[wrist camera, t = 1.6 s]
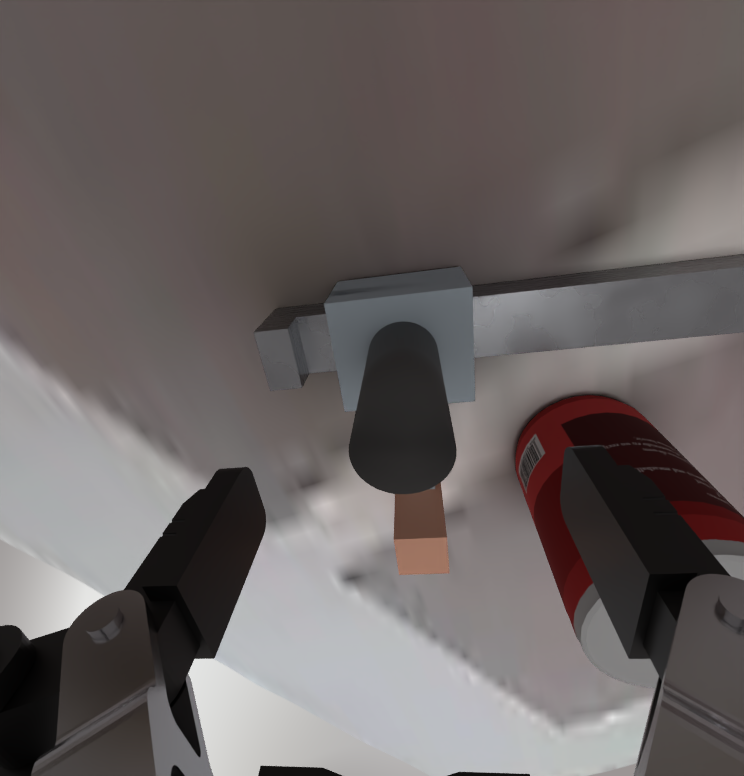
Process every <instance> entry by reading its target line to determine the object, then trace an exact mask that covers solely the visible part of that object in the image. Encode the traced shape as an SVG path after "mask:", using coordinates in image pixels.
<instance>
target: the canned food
mask: <svg viewBox="0 0 744 776" xmlns="http://www.w3.org/2000/svg"><path fill="white" fill-rule="evenodd" d="M589 445H602V446H603V447H604V448H605V449H606V450H607V452H608V453H609V454H610V456H611V457H612V458H613V460H614V461H615V462H616V464H617V465H630V466H632V467H633V468H635V469H636V470H638V471H640V472H641V473H643V474H644V475H646V476H647V477H649V478H650V479H651V480H652V481H653V482H654V483H655V485H656V486H657V487H658V488H659V489H660V491H661V492H662V493H663V494H664V495H665V499H666V500H669V502H670V503H671V504H672V505H673V506H674V508H675V509H676V510H677V513H678V515H681V516H682V517H683V519H684V520H685V521H686V522H687V524H688V525H689V526H690V527H691V528H692V530H693V531H694V532H695V533H696V534H697V536H698V537H699V538H700V539H701V541H702V542H703V543H704V544H705V545H706V547H707V548H708V549H709V550H710V552H711V553H712V554H713V555H714V556H715V558H716V559H717V560H718V561H719V563H720V564H721V565H722V566H723V567H724V569H725V570H726V571H727V572H728V573H729V575H730V576H731V577H735V578H738V579H741V580H744V517H743V516H742V515H741V514H740V513H739V512H738V511H737V510H736V509H735V508H734V507H733V506H732V505H731V504H730V503H729V502H728V501H727V500H726V499H725V498H724V497H723V496H722V495H721V494H720V493H719V492H718V491H717V490H716V489H715V488H714V487H713V486H712V485H711V484H710V483H709V482H708V481H707V480H706V479H705V478H704V477H703V476H702V475H701V474H700V473H699V472H698V471H697V470H696V469H695V468H694V467H693V466H692V465H691V464H690V462H689V461H688V460H687V459H686V458H685V457H684V456H683V455H682V454H681V453H680V452H679V451H678V450H677V449H676V448H675V447H674V446H673V445H672V444H671V443H670V442H669V441H668V440H667V439H666V438H665V437H664V436H663V435H662V434H661V433H660V432H659V431H658V430H657V429H656V428H655V427H654V426H653V425H652V424H651V423H650V422H649V421H648V420H647V419H646V418H645V417H644V416H643V415H642V414H640V413H639V412H638V411H637V410H635V409H634V408H632V407H630V406H628V405H626V404H624V403H622V402H620V401H617V400H615V399H611V398H607V397H604V396H595V395H584V396H575V397H571V398H568V399H564V400H561V401H559V402H557V403H554V404H552V405H550V406H548V407H547V408H545V409H544V410H542V411H541V412H539V413H538V414H537V415H536V416H535V417H534V418H533V419H532V420H531V421H530V422H529V423H528V425H527V426H526V427H525V429H524V430H523V432H522V434H521V436H520V438H519V440H518V445H517V449H516V472H517V476H518V479H519V482H520V485H521V488H522V490H523V493H524V496H525V499H526V501H527V504H528V507H529V510H530V512H531V515H532V518H533V521H534V523H535V526H536V529H537V532H538V534H539V537H540V540H541V543H542V545H543V548H544V551H545V554H546V556H547V559H548V562H549V565H550V568H551V570H552V573H553V576H554V579H555V581H556V584H557V587H558V590H559V592H560V595H561V598H562V601H563V603H564V606H565V609H566V612H567V614H568V616H569V618H570V621H571V624H572V626H573V629H574V632H575V634H576V637H577V639H578V640H579V642H580V643H581V646H582V649H583V651H584V653H585V654H586V656H587V658H588V659H589V661H590V662H591V663H592V664H593V665H594V666H595V667H596V668H598V669H599V670H600V671H601V672H603V673H605V674H607V675H608V676H610V677H612V678H614V679H617V680H619V681H622V682H625V683H627V684H632V685H637V686H641V687H647V688H655V687H656V683H657V680H658V676H659V675H658V673H657V671H656V669H655V667H654V665H653V663H652V661H651V659H629V658H628V656H627V654H626V652H625V650H624V648H623V646H622V643H621V641H620V639H619V637H618V635H617V633H616V631H615V628H614V626H613V624H612V622H611V620H610V618H609V616H608V613H607V611H606V609H605V607H604V605H603V603H602V600H601V598H600V596H599V594H598V592H597V590H596V588H595V585H594V583H593V581H592V579H591V577H590V575H589V573H588V570H587V568H586V566H585V564H584V562H583V560H582V558H581V555H580V553H579V551H578V549H577V547H576V545H575V543H574V540H573V538H572V536H571V534H570V532H569V530H568V528H567V525H566V523H565V521H564V518H563V514H562V510H561V504H560V492H561V481H562V470H563V459H564V452H565V449H566V448H567V447H574V446H589Z"/></svg>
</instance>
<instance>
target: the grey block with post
mask: <svg viewBox="0 0 744 776" xmlns="http://www.w3.org/2000/svg"><path fill="white" fill-rule="evenodd" d="M324 307H325V312H326V317H327V322H328V327H329V332H330V338H331V343H332V348H333V353H334V358H335V363H336V368H337V374H338V379H339V384H340V389H341V394H342V399H343V404H344V410H345V412H348V411H356V414H355V419H354V424H353V429H352V434H351V439H350V444H349V457H350V461H351V463H352V466H353V468H354V469H355V471H356V473H357V474H358V475H359V476H360V477H361V478H362V479H363V480H364V481H365V482H367V483H368V484H369V485H371V486H373V487H375V488H377V489H379V490H382V491H385V492H388V493H393V494H395V517H394V544H395V550H396V557H397V563H398V569H399V575H408V574H442V573H449V560H448V546H447V534H446V526H445V517H444V508H443V500H442V491H441V481H443V480H444V479H445V478H446V477H447V475H448V474H449V473H450V471H451V469H452V468H453V465H454V463H455V459H456V443H455V438H454V433H453V427H452V422H451V417H450V411H449V406H448V403H458V402H470V401H475V374H474V332H473V289H472V285H471V283H470V282H469V280H468V278H467V277H466V275H465V273H464V272H463V270H462V268H461V267H453V268H444V269H436V270H428V271H420V272H412V273H404V274H396V275H387V276H379V277H371V278H363V279H355V280H347V281H339V282H337V284H336V285H335V287H334V288H333V290H332V292H331V293H330V295H329V297H328V298H327V300H326V301H325V303H324Z"/></svg>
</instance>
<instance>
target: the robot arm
mask: <svg viewBox="0 0 744 776" xmlns="http://www.w3.org/2000/svg"><path fill="white" fill-rule="evenodd" d="M560 504H561V510H562V514H563V518H564V521H565V523H566V525H567V528H568V530H569V532H570V534H571V536H572V538H573V540H574V543H575V545H576V547H577V549H578V551H579V553H580V555H581V558H582V560H583V562H584V564H585V566H586V568H587V570H588V573H589V575H590V577H591V579H592V581H593V583H594V585H595V588H596V590H597V592H598V594H599V596H600V598H601V600H602V603H603V605H604V607H605V609H606V611H607V613H608V616H609V618H610V620H611V622H612V624H613V626H614V628H615V631H616V633H617V635H618V637H619V639H620V641H621V643H622V646H623V648H624V650H625V652H626V654H627V656H628V658H629V659H651V661H652V663H653V665H654V667H655V669H656V671H657V673H658V675H659V676H658V680H657V683H656V687H655V691H654V695H653V699H652V703H651V707H650V711H649V715H648V719H647V723H646V727H645V732H644V736H643V740H642V744H641V748H640V752H639V756H638V760H637V764H636V768H635V772H634V776H744V580H741V579H738V578H735V577H731V576H730V575H729V573H728V572H727V571H726V570H725V569H724V567H723V566H722V565H721V564H720V563H719V561H718V560H717V559H716V558H715V556H714V555H713V554H712V553H711V552H710V550H709V549H708V548H707V547H706V545H705V544H704V543H703V542H702V541H701V539H700V538H699V537H698V536H697V534H696V533H695V532H694V531H693V530H692V528H691V527H690V526H689V525H688V524H687V522H686V521H685V520H684V519H683V517H682V516H681V515H678V513H677V510H676V509H675V508H674V506H673V505H672V504H671V503H670V502H669V500H666V499H665V495H664V494H663V493H662V492H661V491H660V489H659V488H658V487H657V486H656V485H655V483H654V482H653V481H652V480H651V479H650V478H649V477H647V476H646V475H644V474H643V473H641V472H640V471H638V470H636V469H635V468H633V467H632V466H630V465H617V464H616V462H615V461H614V460H613V458H612V457H611V456H610V454H609V453H608V452H607V450H606V449H605V448H604V447H603V446H602V445H589V446H574V447H567V448H566V449H565V452H564V459H563V470H562V481H561V492H560ZM265 527H266V514H265V509H264V506H263V503H262V500H261V497H260V494H259V491H258V488H257V485H256V482H255V479H254V476H253V473H252V471H251V470H250V469H249V468H248V467H242V468H227V469H219V470H218V471H216V473H215V474H214V476H213V477H212V479H211V480H210V482H209V484H208V485H207V487H206V488H205V489H200V490H199V491H197V492H196V493H195V494H194V495H193V496H191V497H190V498H189V499H188V500H187V501H186V502H184V503H183V504H182V506H181V507H180V509H179V510H178V512H177V513H176V515H175V516H174V518H173V519H172V523H169V525H168V526H167V528H166V529H165V531H164V532H163V536H162V537H160V538H159V539H158V541H157V542H156V544H155V545H154V547H153V548H152V550H151V551H150V553H149V554H148V555H147V557H146V558H145V560H144V561H143V563H142V564H141V566H140V567H139V569H138V570H137V572H136V573H135V574H134V576H133V577H132V579H131V580H130V582H129V583H128V585H127V586H126V588H125V589H124V590H122V591H117V592H114V593H111V594H109V595H107V596H105V597H103V598H101V599H99V600H97V601H96V602H95V603H93V604H92V605H91V606H89V607H88V608H87V609H85V610H84V611H83V612H82V613H81V614H80V615H79V616H78V617H77V618H76V620H75V621H74V622H73V623H72V625H71V626H70V628H67V629H64V630H61V631H58V632H55V633H51V634H48V635H45V636H42V637H38V638H35V639H32V640H29V639H28V638H27V637H26V636H25V635H24V633H23V632H22V631H21V630H20V629H19V628H18V627H16V626H13V625H5V626H0V776H213V773H212V770H211V768H210V763H209V759H208V755H207V750H206V746H205V741H204V737H203V732H202V728H201V724H200V719H199V714H198V710H197V705H196V701H195V696H194V691H193V687H192V682H191V679H190V677H189V675H188V672H189V670H190V667H191V665H192V663H193V661H194V659H195V658H196V659H200V658H201V659H202V658H215V656H216V653H217V651H218V648H219V646H220V643H221V641H222V638H223V636H224V633H225V631H226V628H227V625H228V623H229V620H230V618H231V615H232V613H233V610H234V608H235V605H236V603H237V600H238V598H239V595H240V593H241V590H242V588H243V585H244V583H245V580H246V578H247V575H248V573H249V570H250V568H251V565H252V563H253V560H254V558H255V555H256V553H257V550H258V548H259V545H260V543H261V540H262V538H263V535H264V532H265ZM258 776H342V775H339V774H337V773H334V772H332V771H329V770H327V769H324V768H314V767H311V768H310V767H282V766H280V767H279V766H261V767H260V771H259V775H258ZM448 776H530V774H509V773H476V772H458V773H455V774H451V775H448Z"/></svg>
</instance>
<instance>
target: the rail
mask: <svg viewBox="0 0 744 776" xmlns="http://www.w3.org/2000/svg"><path fill="white" fill-rule="evenodd" d="M472 289H473V332H474V358H477V357H487V356H498V355H508V354H519V353H529V352H540V351H550V350H561V349H572V348H582V347H593V346H603V345H614V344H624V343H635V342H645V341H656V340H666V339H677V338H688V337H698V336H709V335H719V334H730V333H740V332H744V254H741V255H733V256H724V257H716V258H707V259H699V260H690V261H681V262H673V263H664V264H656V265H647V266H639V267H630V268H621V269H613V270H604V271H596V272H587V273H579V274H570V275H561V276H553V277H544V278H536V279H527V280H519V281H510V282H501V283H493V284H484V285H476V286H472ZM254 336H255V339H256V343H257V346H258V350H259V353H260V357H261V360H262V364H263V367H264V371H265V374H266V378H267V381H268V385H269V389H270V391H274V390H285V389H296V388H302V387H303V385H304V383H305V381H306V379H307V377H308V374H309V373H318V372H329V371H337V368H336V363H335V358H334V353H333V348H332V343H331V338H330V332H329V327H328V322H327V317H326V312H325V307H324V303H321V304H313V305H304V306H296V307H287V308H279V309H275V310H274V311H273V312H272V313H271V314H270V316H269V317H268V318H267V319H266V320H265V321H264V322H263V323H262V324H261V325H260V326H259V327H258V328H257V329H256V330H255V331H254Z"/></svg>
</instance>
